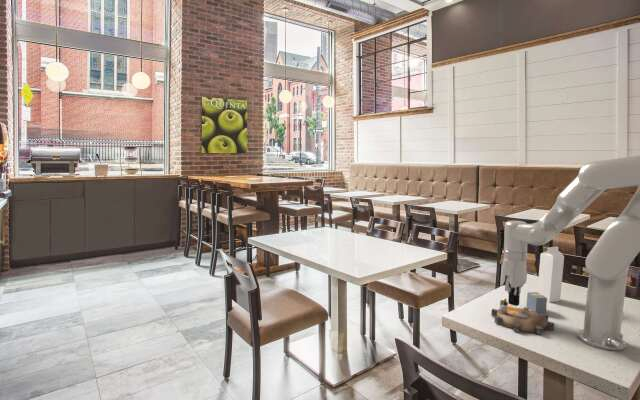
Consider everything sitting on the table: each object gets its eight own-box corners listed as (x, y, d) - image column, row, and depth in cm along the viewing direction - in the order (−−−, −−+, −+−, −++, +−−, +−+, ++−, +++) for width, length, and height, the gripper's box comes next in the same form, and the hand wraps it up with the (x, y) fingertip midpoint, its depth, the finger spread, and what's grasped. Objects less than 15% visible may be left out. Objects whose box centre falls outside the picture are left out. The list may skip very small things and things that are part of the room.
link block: (545, 313, 146) (547, 297, 146) (535, 313, 146) (536, 297, 145) (536, 307, 152) (537, 292, 151) (526, 307, 152) (527, 292, 151)
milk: (536, 297, 162) (540, 245, 160) (547, 295, 164) (551, 244, 162) (549, 302, 157) (554, 249, 154) (560, 301, 159) (565, 248, 156)
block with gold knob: (507, 310, 149) (508, 299, 148) (503, 310, 149) (504, 299, 148) (504, 307, 151) (504, 296, 150) (500, 307, 151) (500, 296, 150)
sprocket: (556, 319, 140) (557, 307, 139) (549, 340, 124) (551, 326, 123) (497, 306, 151) (498, 295, 151) (485, 323, 136) (485, 311, 135)
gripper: (516, 250, 148) (514, 297, 149) (493, 256, 139) (492, 306, 141) (536, 254, 142) (534, 303, 143) (514, 260, 133) (512, 312, 135)
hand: (513, 304), depth 142 cm, fingers closed
